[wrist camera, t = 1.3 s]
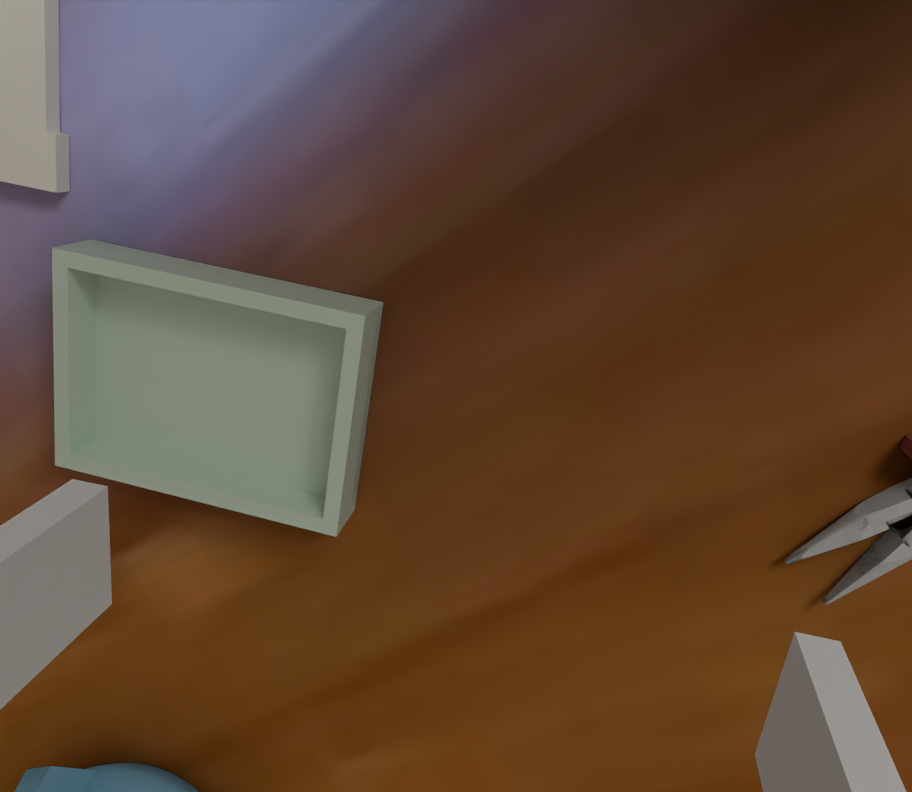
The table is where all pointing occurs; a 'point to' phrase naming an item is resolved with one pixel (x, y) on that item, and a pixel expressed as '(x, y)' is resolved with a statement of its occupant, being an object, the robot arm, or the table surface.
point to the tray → (211, 383)
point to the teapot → (103, 779)
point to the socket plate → (31, 97)
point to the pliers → (868, 535)
